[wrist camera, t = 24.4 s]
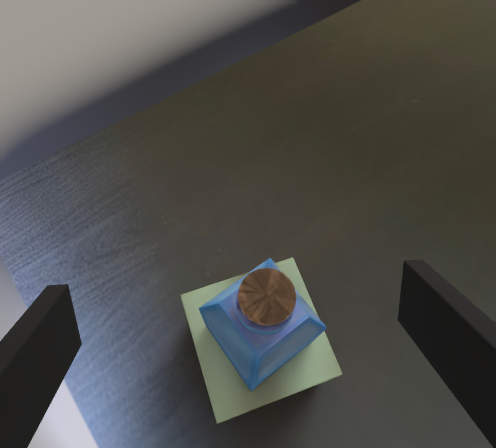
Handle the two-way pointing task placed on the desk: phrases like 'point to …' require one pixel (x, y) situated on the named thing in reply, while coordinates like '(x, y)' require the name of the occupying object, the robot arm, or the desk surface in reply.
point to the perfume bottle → (261, 322)
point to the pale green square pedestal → (226, 376)
